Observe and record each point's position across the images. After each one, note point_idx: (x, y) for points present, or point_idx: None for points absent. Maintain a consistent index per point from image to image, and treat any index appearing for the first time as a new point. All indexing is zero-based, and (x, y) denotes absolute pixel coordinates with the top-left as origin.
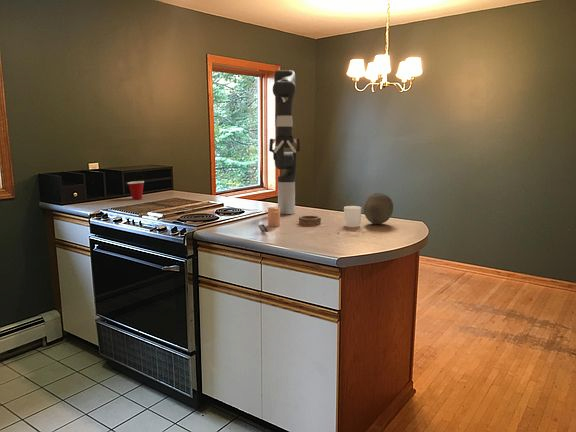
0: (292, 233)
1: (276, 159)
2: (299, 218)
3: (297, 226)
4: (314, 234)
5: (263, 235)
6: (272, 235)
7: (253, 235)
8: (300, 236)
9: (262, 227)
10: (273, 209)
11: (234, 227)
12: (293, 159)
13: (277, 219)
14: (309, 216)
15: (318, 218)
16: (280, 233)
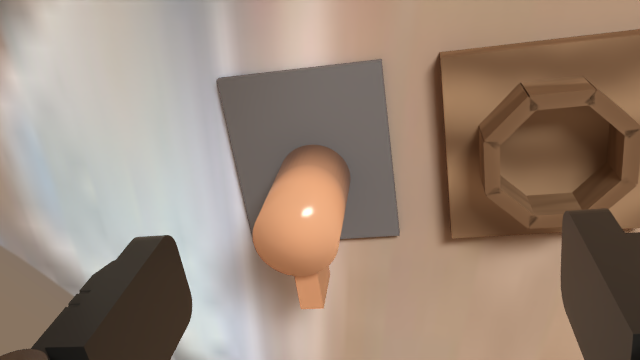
0: (411, 288)
1: (177, 334)
2: (483, 158)
3: (452, 219)
4: (522, 321)
5: (267, 309)
6: (309, 314)
7: (220, 304)
8: (442, 348)
9: (247, 168)
10: (293, 273)
11: (84, 112)
12: (572, 320)
13: (327, 281)
14: (573, 105)
15: (612, 205)
16: (349, 281)
